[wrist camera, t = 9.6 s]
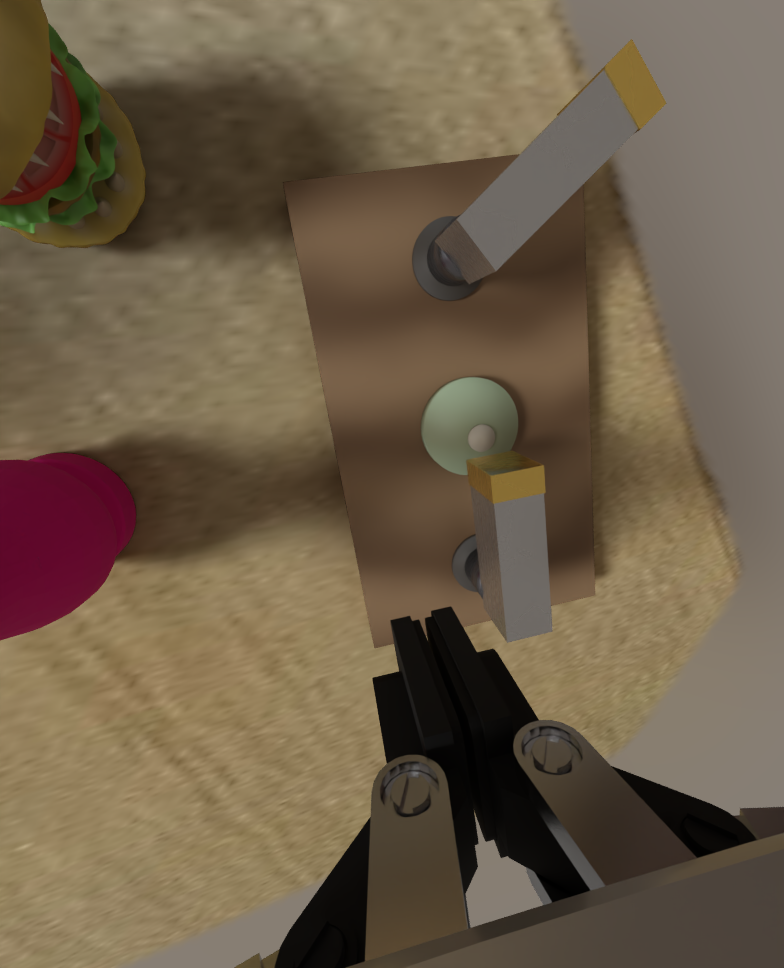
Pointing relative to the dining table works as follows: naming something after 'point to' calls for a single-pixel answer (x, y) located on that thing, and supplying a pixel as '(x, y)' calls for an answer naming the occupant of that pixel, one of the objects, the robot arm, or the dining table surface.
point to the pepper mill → (57, 536)
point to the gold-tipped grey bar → (547, 171)
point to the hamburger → (60, 140)
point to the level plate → (444, 379)
